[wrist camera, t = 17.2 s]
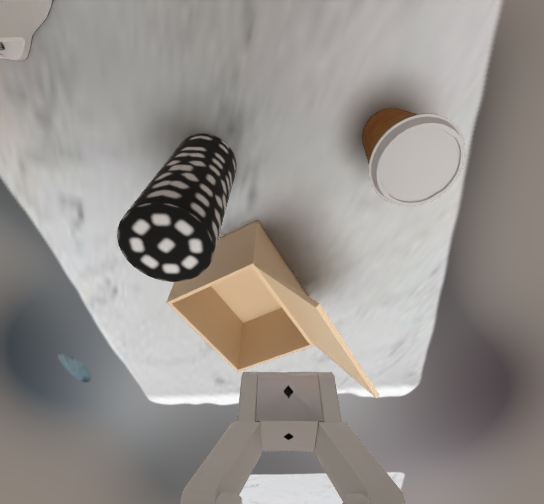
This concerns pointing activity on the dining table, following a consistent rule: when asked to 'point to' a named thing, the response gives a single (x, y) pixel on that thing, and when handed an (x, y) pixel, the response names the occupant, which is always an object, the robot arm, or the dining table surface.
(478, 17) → the dining table surface
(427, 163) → the disposable coffee cup
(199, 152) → the white-spotted black cylinder
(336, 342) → the carton flap
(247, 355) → the carton
